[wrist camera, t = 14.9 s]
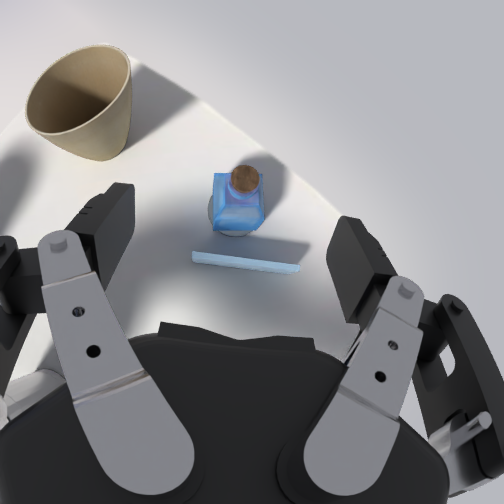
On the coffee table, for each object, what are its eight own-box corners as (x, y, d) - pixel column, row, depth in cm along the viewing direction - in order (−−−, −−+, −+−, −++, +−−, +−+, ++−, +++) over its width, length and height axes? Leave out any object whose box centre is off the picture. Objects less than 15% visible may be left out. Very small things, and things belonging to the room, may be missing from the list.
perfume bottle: (212, 189, 44) (216, 152, 32) (254, 190, 45) (271, 154, 33) (213, 230, 43) (216, 205, 31) (256, 230, 44) (275, 205, 32)
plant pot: (98, 98, 44) (74, 38, 28) (164, 122, 45) (154, 56, 29) (51, 165, 41) (6, 118, 25) (116, 198, 42) (78, 150, 26)
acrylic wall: (289, 274, 44) (299, 271, 39) (193, 262, 42) (191, 257, 37) (289, 269, 44) (300, 265, 39) (193, 256, 42) (192, 251, 37)
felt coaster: (258, 240, 44) (259, 239, 44) (204, 232, 43) (204, 231, 42) (264, 189, 45) (265, 188, 45) (212, 181, 44) (212, 180, 44)
